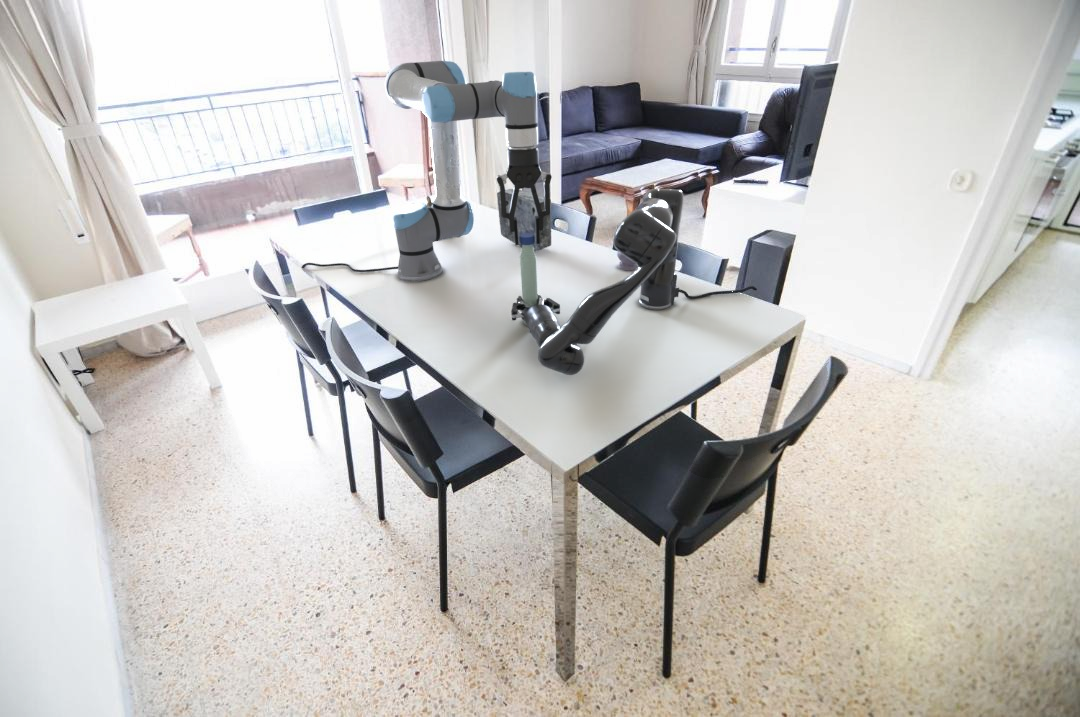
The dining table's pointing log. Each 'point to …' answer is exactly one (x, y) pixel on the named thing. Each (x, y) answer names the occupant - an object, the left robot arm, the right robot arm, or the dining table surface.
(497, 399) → the dining table surface
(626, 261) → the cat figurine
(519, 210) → the concrete block
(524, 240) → the cap
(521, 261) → the bottle
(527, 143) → the left robot arm
